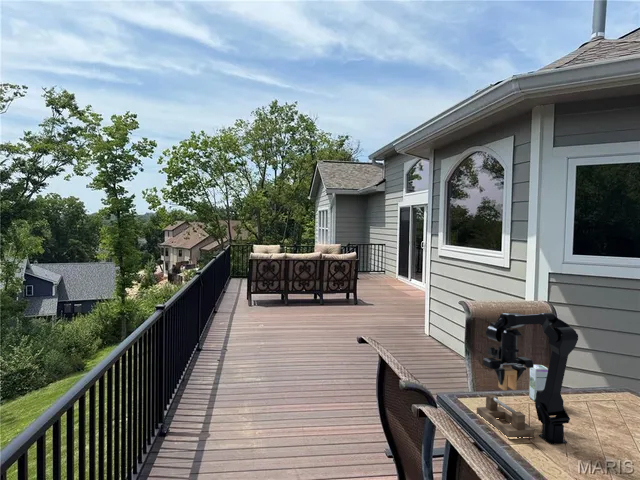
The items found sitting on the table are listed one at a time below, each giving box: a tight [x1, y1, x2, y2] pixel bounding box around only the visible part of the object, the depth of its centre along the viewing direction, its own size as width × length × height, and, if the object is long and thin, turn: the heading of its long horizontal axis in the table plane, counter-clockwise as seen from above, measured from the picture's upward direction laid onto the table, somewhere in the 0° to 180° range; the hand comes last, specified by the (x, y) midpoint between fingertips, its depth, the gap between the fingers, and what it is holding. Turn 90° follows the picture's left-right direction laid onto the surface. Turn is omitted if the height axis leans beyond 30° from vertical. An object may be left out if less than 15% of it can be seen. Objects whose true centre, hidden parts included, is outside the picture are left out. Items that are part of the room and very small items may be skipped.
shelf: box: [476, 394, 536, 438], centre depth 158 cm, size 20×10×8 cm, turn 11°
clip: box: [497, 367, 518, 391], centre depth 169 cm, size 4×5×8 cm
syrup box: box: [528, 364, 549, 402], centre depth 184 cm, size 6×6×14 cm
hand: (507, 384), depth 169 cm, fingers closed on clip, 5 cm apart
